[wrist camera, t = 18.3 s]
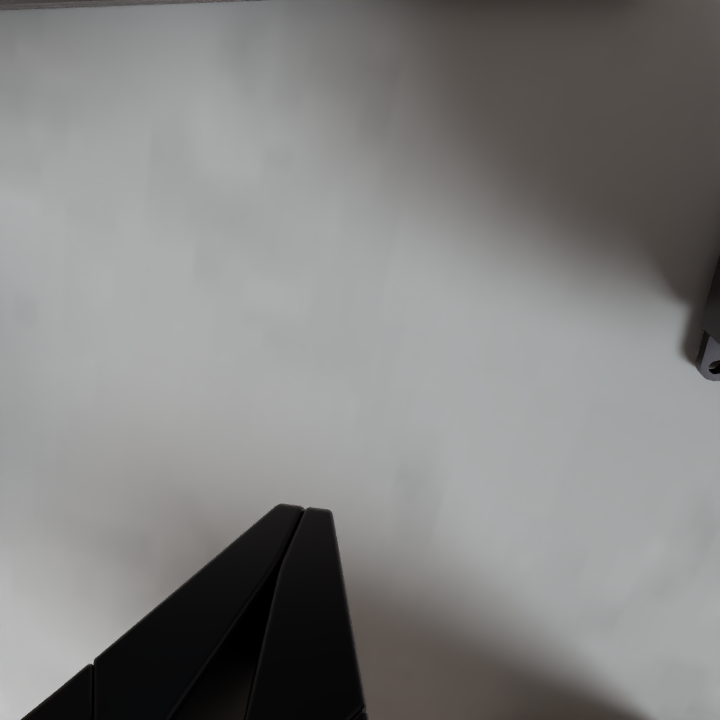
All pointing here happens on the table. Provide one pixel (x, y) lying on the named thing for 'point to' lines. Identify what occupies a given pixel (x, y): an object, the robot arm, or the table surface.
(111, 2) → the vise base
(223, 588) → the robot arm
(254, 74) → the table surface
